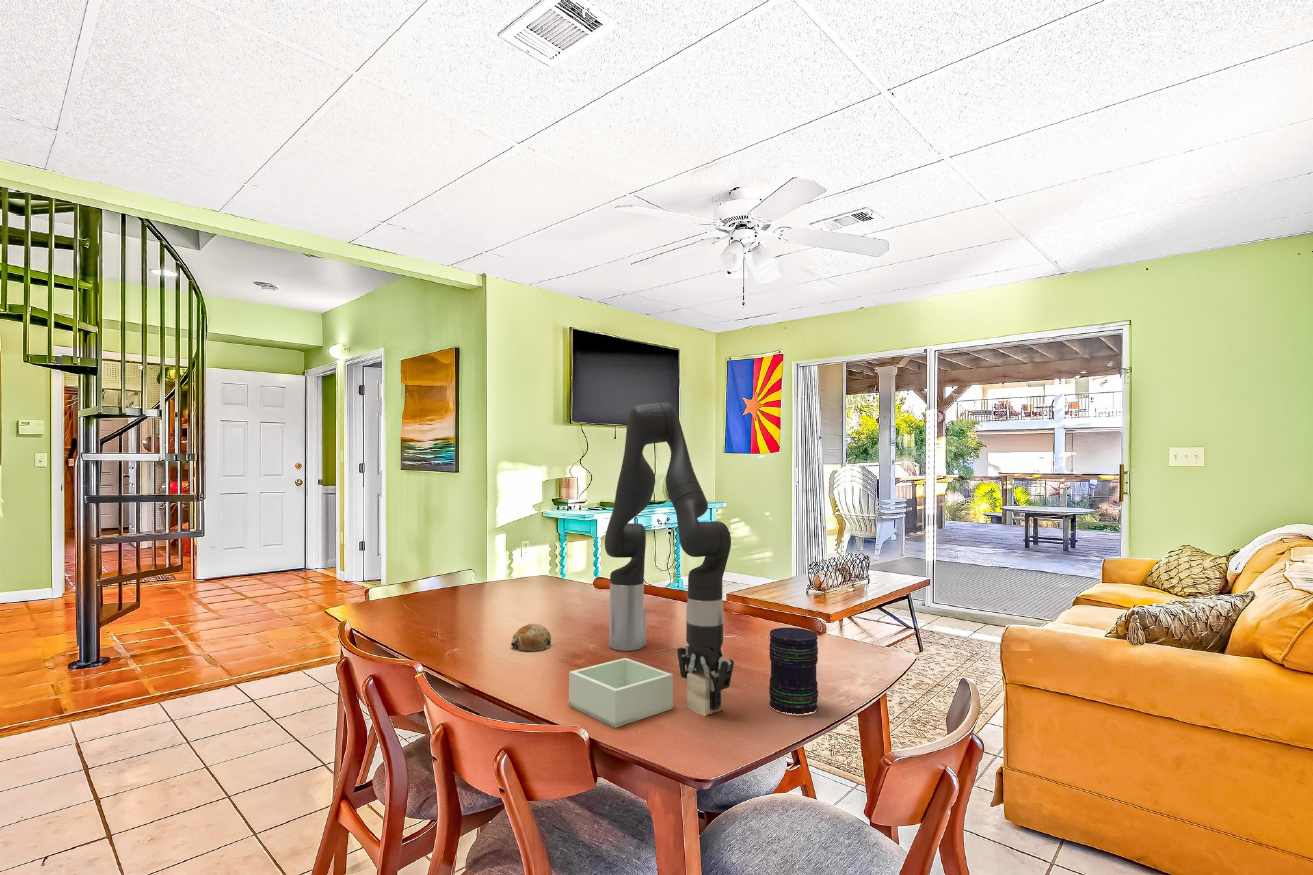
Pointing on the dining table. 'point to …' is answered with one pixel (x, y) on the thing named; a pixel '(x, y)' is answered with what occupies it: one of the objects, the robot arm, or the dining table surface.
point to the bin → (620, 691)
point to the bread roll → (531, 638)
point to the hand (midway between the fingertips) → (704, 704)
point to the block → (699, 693)
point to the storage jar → (793, 670)
